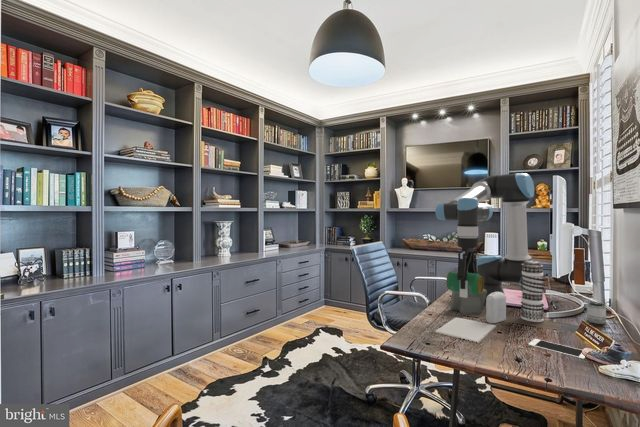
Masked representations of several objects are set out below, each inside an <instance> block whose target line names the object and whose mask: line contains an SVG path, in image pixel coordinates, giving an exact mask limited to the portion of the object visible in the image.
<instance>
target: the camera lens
mask: <svg viewBox="0 0 640 427" xmlns="http://www.w3.org/2000/svg"><path fill="white" fill-rule="evenodd" d="M586 318H587V321H588V322H589V323H593V324H600V325H604V324H606V320H607V306H606V305H605V304H604V303H601V302H596V301H591V302H588V303H587V304H586Z"/></svg>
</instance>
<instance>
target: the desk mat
mask: <svg viewBox="0 0 640 427" xmlns="http://www.w3.org/2000/svg"><path fill="white" fill-rule="evenodd" d="M495 328H496V324H492V323H486V322H482V321H481V322H480V321H476V320H471V319H465V318H461V317H457V316H456V317H454V318H453V319H451V320H450V321H448V322H447V323H445V324H444V325H441V326H440V327H439V328H437V329H436V330H434V333H435V334H440V335H443V336H444V335H445V336H447V337H452V338H456V339H459V338H461V339H460V340H463V339H465V340H464V341H468V340H469V342H472V341H473V342H472V343H476V342H477V343H476V344H479V343H480V342H481V341H482V340H483V339H484V338H485V337H487V336H488V335H489V334H490V333H491V332H492V331H493V330H494V329H495Z"/></svg>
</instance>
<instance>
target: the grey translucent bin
mask: <svg viewBox="0 0 640 427" xmlns="http://www.w3.org/2000/svg"><path fill="white" fill-rule="evenodd" d="M486 293H487V291H486V290H485V289H483V292H482V293H481V294H478V295H475V294H468V298H464V297H460V292H455V291H451V297H450V304H449V309H450V310H452V311H457V312H458V311H459V312H460V313H461V314H464V315H465V314H482V311H483V310H484V307H485V304H486V303H485V298H486Z"/></svg>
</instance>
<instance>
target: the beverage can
mask: <svg viewBox="0 0 640 427" xmlns="http://www.w3.org/2000/svg"><path fill="white" fill-rule="evenodd" d="M457 275H458V270H457V271H456V270H455V271H454V270H451V271H449V272H448V274H447V275H446V276H447V277H446V287H447V290H449V291H451V292H452V291H455V292H460V280H457ZM467 281H468V294H475V295H478V294H481V293H482V292H483V288H484V279H483V277H482V276H481V275H479V274H475V273H467Z"/></svg>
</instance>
